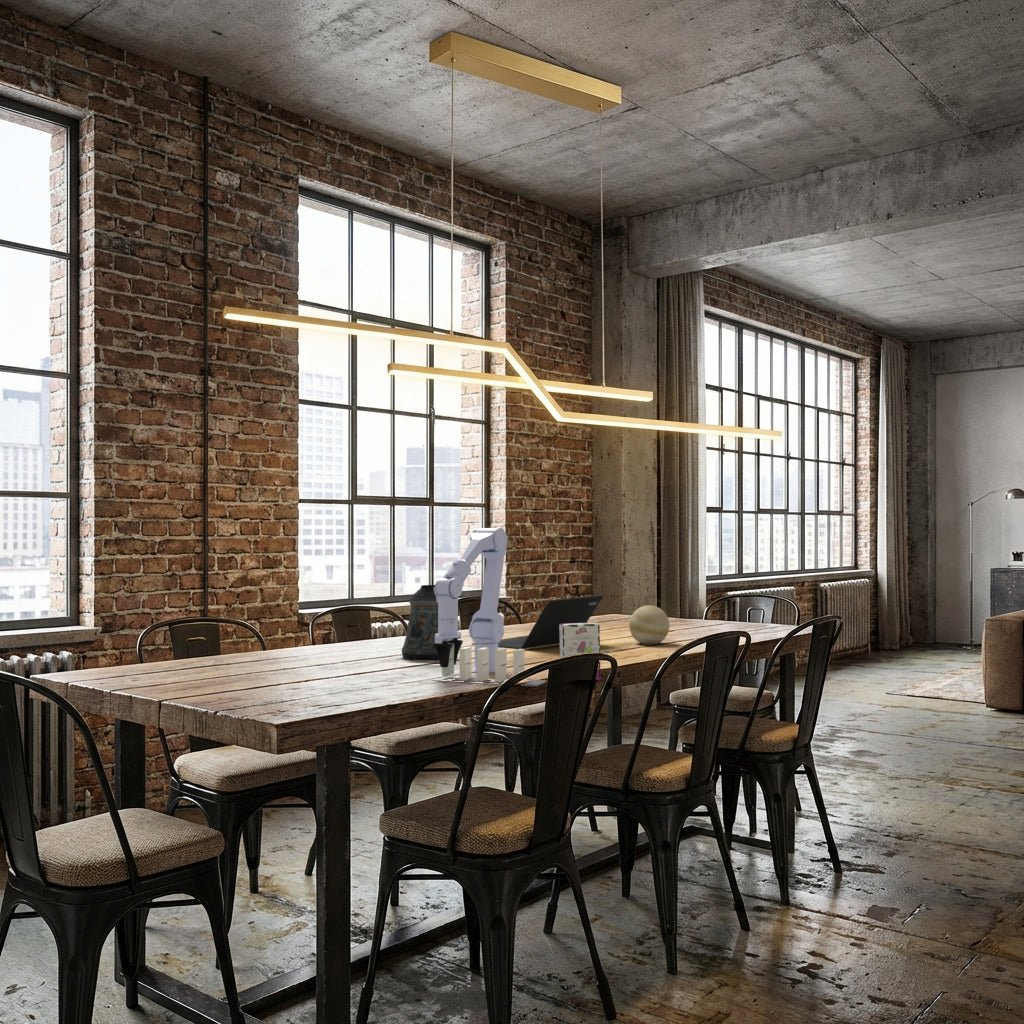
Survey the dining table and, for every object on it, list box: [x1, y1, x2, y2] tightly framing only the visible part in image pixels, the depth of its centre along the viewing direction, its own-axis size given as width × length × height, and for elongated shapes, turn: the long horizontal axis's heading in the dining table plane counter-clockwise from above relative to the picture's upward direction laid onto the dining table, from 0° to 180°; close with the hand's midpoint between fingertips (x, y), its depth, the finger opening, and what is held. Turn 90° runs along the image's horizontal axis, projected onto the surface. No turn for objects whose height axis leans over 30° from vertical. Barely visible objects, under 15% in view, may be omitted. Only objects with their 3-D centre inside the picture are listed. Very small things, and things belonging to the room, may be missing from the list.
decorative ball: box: [628, 604, 670, 646], centre depth 389 cm, size 15×15×15 cm
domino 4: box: [512, 649, 526, 676], centre depth 294 cm, size 2×5×9 cm, turn 159°
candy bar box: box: [559, 622, 601, 681], centre depth 299 cm, size 11×5×16 cm, turn 101°
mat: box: [452, 676, 547, 687], centre depth 297 cm, size 36×9×1 cm, turn 69°
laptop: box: [471, 594, 603, 650], centre depth 387 cm, size 33×38×19 cm
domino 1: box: [459, 646, 473, 680], centre depth 299 cm, size 2×5×9 cm, turn 159°
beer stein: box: [401, 584, 439, 661], centre depth 349 cm, size 16×19×25 cm
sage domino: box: [441, 643, 455, 677], centre depth 301 cm, size 2×5×9 cm, turn 159°
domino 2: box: [476, 647, 490, 681], centre depth 297 cm, size 2×5×9 cm, turn 159°
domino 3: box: [494, 647, 508, 682], centre depth 296 cm, size 2×5×9 cm, turn 160°
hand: (448, 665), depth 301 cm, fingers closed on sage domino, 5 cm apart
